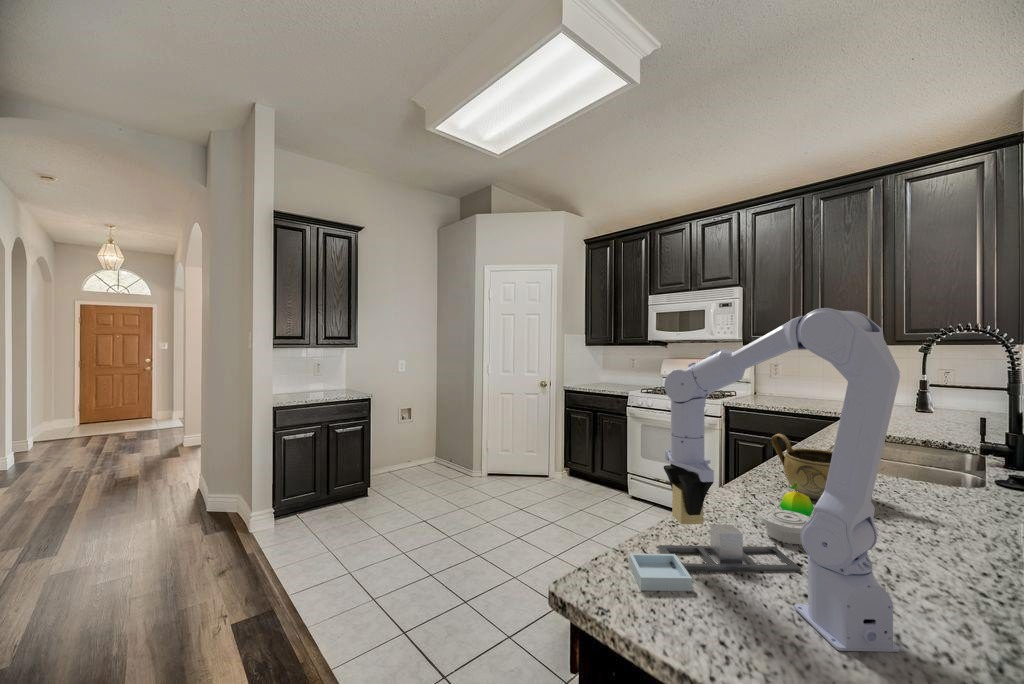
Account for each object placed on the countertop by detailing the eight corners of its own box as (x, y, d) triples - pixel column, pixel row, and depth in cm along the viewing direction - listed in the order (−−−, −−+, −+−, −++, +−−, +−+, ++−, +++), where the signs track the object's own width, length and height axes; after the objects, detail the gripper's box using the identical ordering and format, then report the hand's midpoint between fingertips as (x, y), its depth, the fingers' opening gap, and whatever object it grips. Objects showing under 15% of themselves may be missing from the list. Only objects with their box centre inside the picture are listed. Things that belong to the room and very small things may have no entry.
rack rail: (800, 573, 77) (800, 568, 77) (672, 571, 77) (672, 565, 77) (774, 552, 85) (774, 546, 85) (658, 550, 85) (658, 545, 85)
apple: (790, 513, 104) (790, 475, 104) (819, 523, 98) (819, 482, 98) (772, 519, 100) (772, 480, 100) (802, 530, 95) (802, 487, 95)
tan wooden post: (703, 524, 79) (703, 490, 79) (681, 524, 79) (681, 490, 79) (693, 515, 83) (693, 483, 83) (672, 515, 83) (672, 483, 83)
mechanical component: (754, 517, 90) (766, 504, 98) (754, 538, 90) (766, 524, 98) (812, 531, 84) (821, 516, 91) (812, 554, 84) (821, 537, 91)
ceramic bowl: (761, 494, 117) (761, 437, 118) (783, 480, 129) (783, 429, 129) (868, 519, 101) (868, 453, 101) (882, 501, 112) (882, 442, 112)
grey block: (742, 567, 79) (742, 533, 79) (719, 567, 79) (719, 533, 79) (732, 556, 83) (732, 524, 83) (710, 556, 83) (710, 524, 83)
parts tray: (692, 591, 71) (692, 578, 71) (640, 590, 71) (640, 577, 71) (674, 565, 79) (674, 554, 79) (628, 565, 80) (628, 553, 80)
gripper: (731, 443, 74) (731, 524, 74) (689, 427, 89) (689, 495, 89) (690, 444, 74) (690, 526, 74) (655, 428, 88) (655, 496, 88)
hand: (687, 509), depth 81 cm, fingers closed on tan wooden post, 4 cm apart
